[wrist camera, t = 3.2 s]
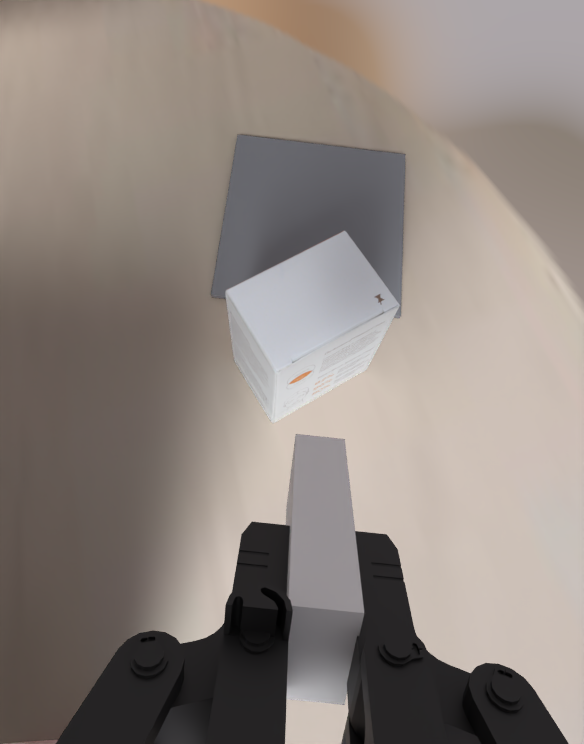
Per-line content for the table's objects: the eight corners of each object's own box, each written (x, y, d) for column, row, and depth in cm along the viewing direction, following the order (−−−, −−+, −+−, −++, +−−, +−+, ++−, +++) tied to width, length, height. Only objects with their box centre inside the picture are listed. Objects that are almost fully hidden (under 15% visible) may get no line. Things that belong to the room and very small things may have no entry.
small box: (326, 310, 41) (348, 225, 31) (368, 371, 39) (404, 303, 29) (230, 360, 39) (221, 287, 29) (270, 426, 37) (275, 373, 28)
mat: (211, 297, 40) (210, 294, 40) (237, 138, 46) (237, 134, 45) (399, 318, 41) (400, 315, 40) (404, 157, 46) (405, 154, 46)
